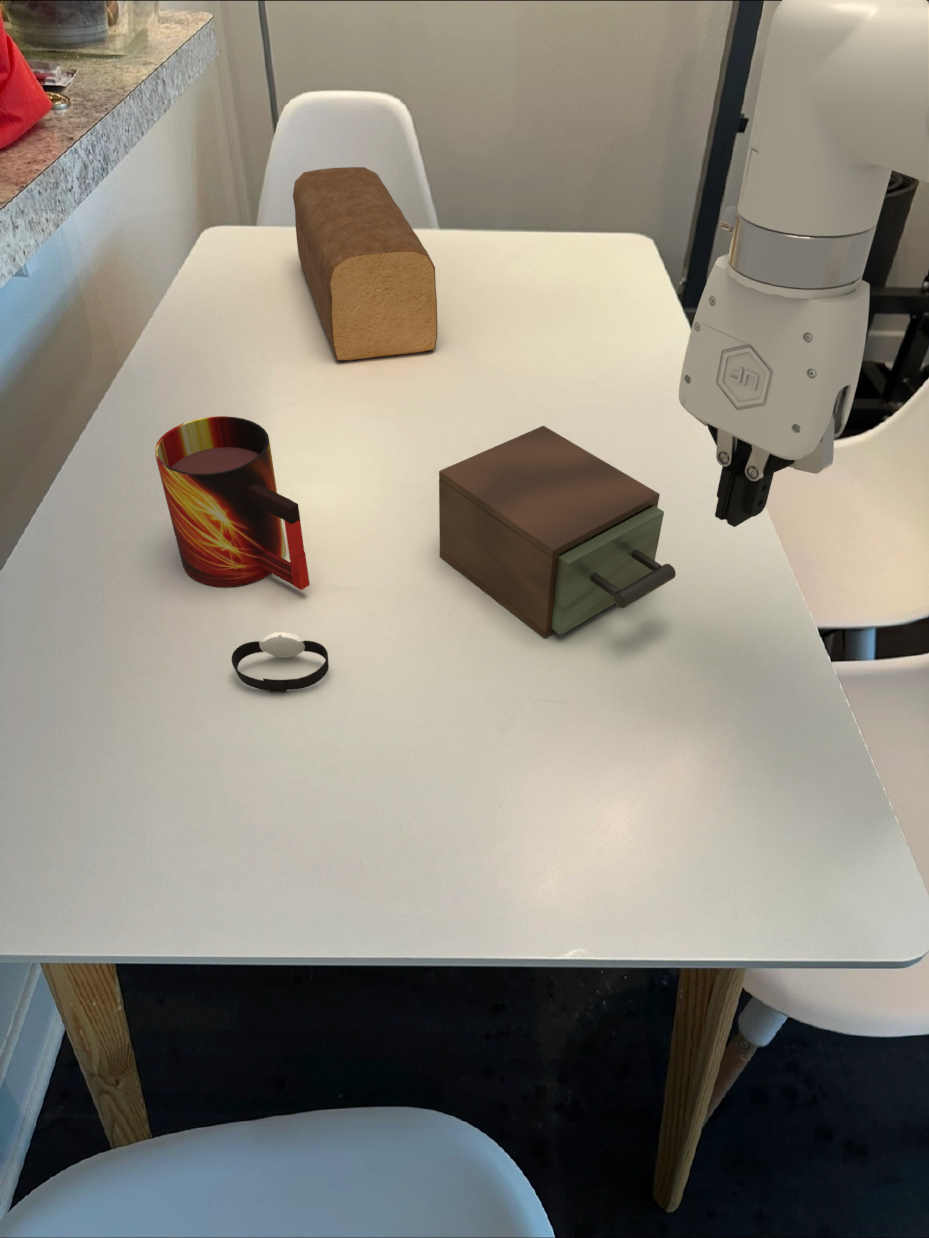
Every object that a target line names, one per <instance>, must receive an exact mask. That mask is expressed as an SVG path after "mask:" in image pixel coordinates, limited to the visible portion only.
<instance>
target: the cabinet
mask: <svg viewBox="0 0 929 1238" xmlns="http://www.w3.org/2000/svg"><path fill="white" fill-rule="evenodd" d="M659 501H660V493H659V492H658V491H656V490H654V489H652V488H650V487H649V486H647V485H646V484H644V483H642V482H641V481H639V480H637V479H636V478H634V477H632V476H630V475H628V474H626V473H625V472H624V471H622V470H621V469H618V468H616V467H615V466H613V465H612V464H610V463H608V462H606V461H604V460H603V459H601V458H599V457H598V456H596V455H594V454H592V453H591V452H589V451H588V450H587V449H584V448H582V447H580V446H579V445H577V444H576V443H574V442H572V441H571V440H569V439H568V438H565V437H564V436H562V435H560V434H558V433H557V432H555V431H554V430H552V429H551V428H548V427H547V426H545V425H541V426H539V427H537V428H534V429H532V430H529V431H528V432H525V433H523V434H521V435H518V436H516V437H513V438H511V439H509V440H507V441H504V442H502V443H500V444H498V445H495V446H493V447H491V448H488V449H486V450H484V451H482V452H479V453H477V454H475V455H472V456H471V457H467V458H465V459H463V460H461V461H459V462H456V463H454V464H452V465H449V466H447V467H444V468H442V469H440V470H439V471H438V509H439V510H438V513H439V515H438V517H439V518H438V519H439V520H438V521H439V523H438V525H439V530H438V531H439V558H441V559H442V560H444V561H445V562H446V563H447V564H448V565H450V566H451V567H453V568H454V569H455V570H456V571H457V572H459V573H460V574H462V575H463V576H464V577H465V578H466V579H468V580H469V581H470V582H472V583H473V584H474V585H475V586H477V587H478V588H479V589H481V590H482V591H483V592H484V593H486V594H487V595H488V596H489V597H491V598H492V599H493V600H495V602H497V603H498V604H500V605H501V606H502V607H504V609H506V610H507V611H509V612H510V613H511V614H513V615H514V616H515V617H516V618H518V619H519V620H520V621H522V622H523V623H524V624H525V625H527V626H528V627H529V628H531V629H532V630H533V631H534V632H535V633H537V634H538V635H539V636H541V637H542V638H543V639H547V638H549V637H550V636H552V635H554V634H555V633H556V632H555V631H554V630H553V629H552V628H551V625H552V615H553V605H554V595H555V585H556V575H557V566H558V557H559V554H561V553H563V552H564V551H566V550H568V549H570V548H572V547H574V546H576V545H578V544H579V543H581V542H583V541H585V540H587V539H589V538H591V537H593V536H594V535H596V534H598V533H600V532H602V531H604V530H606V529H608V528H609V527H611V526H613V525H615V524H617V523H619V522H621V521H623V520H624V519H626V518H628V517H630V516H632V515H634V514H635V516H636V515H637V514H639V513H641V512H643V511H645V510H647V509H649V508H651V507H652V506H656V507H657V508H659Z"/></svg>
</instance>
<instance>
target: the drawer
mask: <svg viewBox="0 0 929 1238" xmlns="http://www.w3.org/2000/svg"><path fill="white" fill-rule="evenodd" d="M664 515H665V511H664V510H662V509H661V508H659V507H656V506H652V507H651V508H649V509H647V510H645V511H643V512H641V513H639V514H637V515H636V516H635V514H634V515H632V516H630V517H628V518H626V519H624V520H623V521H621V522H619V523H617V524H615V525H613V526H611V527H609V528H608V529H606V530H604V531H602V532H600V533H598V534H596V535H594V536H593V537H591V540H589V541H587V542H585V543H583V544H581V545H580V546H578V547H576V548H574V549H572V550H570V551H568V552H566V553H565V554H563V555H561V556H559V557H558V566H557V575H556V585H555V595H554V605H553V615H552V625H551V628H552V629H553V630H554V631H555V633H557V634H558V635H560V636H562V635H563V634H565V633H568V631H570V630H573V629H574V628H575V627H577V626H579V625H581V624H582V623H584V622H586V621H587V620H589V619H591V618H592V617H594V616H596V615H598V614H599V613H601V612H602V611H604V610H606V609H608V608H609V607H612V605H614V604H616V606H617V607H619V608H620V609H625V608H628V607H629V606H630V605H632V604H633V603H635V602H637V601H638V600H640V599H642V598H644V597H646V596H647V595H649V594H650V593H652V592H654V591H655V590H657V589H658V588H660V587H662V586H664V585H665V584H667V583H669V582H670V581H672V580H674V579H675V577H676V575H677V573H676V569H675V568H674V567H673V565H672V564H669V563H664V564H660V563H659V562H657V561H656V558H657V557H656V556H657V552H658V547H659V542H660V536H661V530H662V525H663V522H664V521H663V520H664Z"/></svg>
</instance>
